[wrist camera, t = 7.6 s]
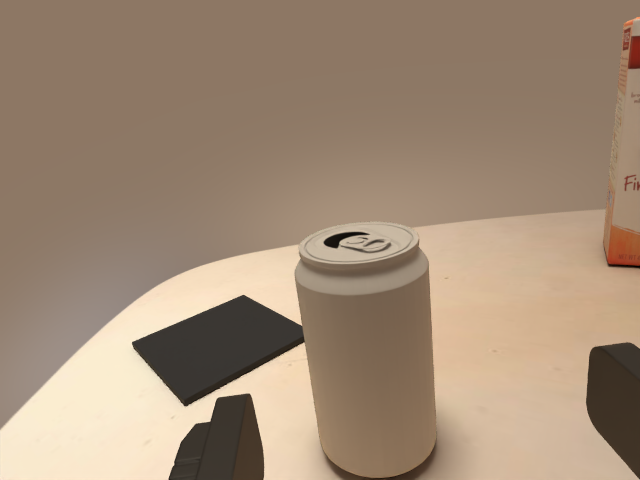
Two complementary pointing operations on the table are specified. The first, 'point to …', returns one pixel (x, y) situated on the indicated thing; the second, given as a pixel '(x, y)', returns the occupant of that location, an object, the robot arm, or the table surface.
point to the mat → (217, 346)
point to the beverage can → (369, 345)
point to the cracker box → (625, 158)
